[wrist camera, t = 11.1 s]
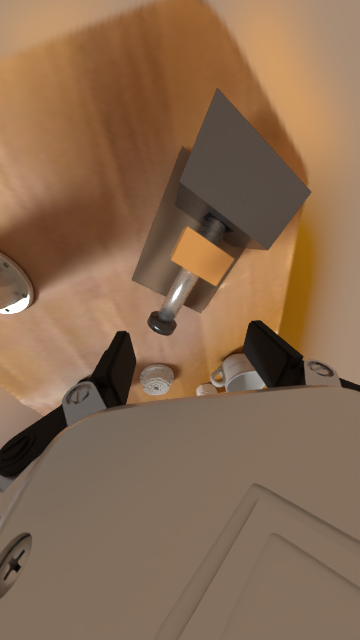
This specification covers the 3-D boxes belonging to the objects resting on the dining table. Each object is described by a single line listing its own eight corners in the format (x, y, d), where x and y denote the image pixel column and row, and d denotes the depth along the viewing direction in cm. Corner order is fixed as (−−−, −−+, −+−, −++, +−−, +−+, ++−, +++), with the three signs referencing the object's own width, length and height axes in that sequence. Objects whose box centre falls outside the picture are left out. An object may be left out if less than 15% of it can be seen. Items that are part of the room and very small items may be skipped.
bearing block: (174, 205, 22) (179, 181, 13) (194, 157, 19) (217, 87, 10) (233, 247, 25) (267, 250, 16) (256, 210, 23) (311, 192, 14)
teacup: (258, 350, 40) (277, 373, 33) (242, 375, 45) (256, 399, 38) (213, 344, 38) (223, 367, 31) (201, 371, 43) (208, 397, 36)
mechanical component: (180, 373, 43) (156, 357, 39) (181, 387, 39) (155, 370, 35) (158, 389, 46) (133, 375, 42) (157, 402, 42) (130, 389, 38)
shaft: (149, 314, 27) (145, 328, 22) (197, 215, 20) (206, 208, 15) (172, 324, 28) (173, 339, 24) (225, 235, 21) (240, 234, 17)
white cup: (221, 390, 48) (232, 423, 40) (201, 399, 50) (208, 432, 41) (211, 378, 45) (221, 411, 36) (190, 388, 46) (195, 422, 38)
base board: (132, 278, 27) (131, 279, 27) (181, 150, 19) (182, 146, 19) (199, 311, 32) (200, 313, 31) (261, 218, 24) (265, 218, 23)
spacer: (182, 229, 20) (187, 226, 16) (220, 255, 22) (234, 258, 18) (170, 255, 22) (171, 260, 17) (206, 277, 24) (216, 286, 19)
